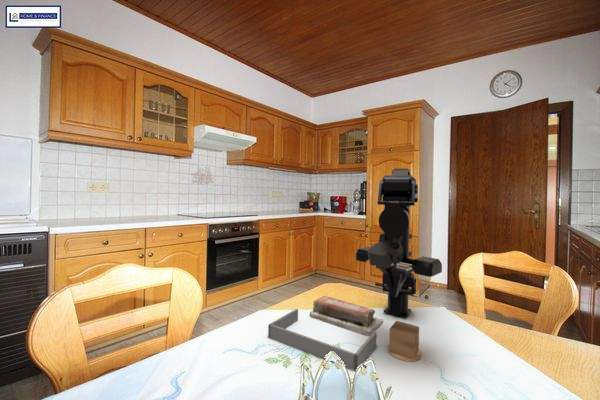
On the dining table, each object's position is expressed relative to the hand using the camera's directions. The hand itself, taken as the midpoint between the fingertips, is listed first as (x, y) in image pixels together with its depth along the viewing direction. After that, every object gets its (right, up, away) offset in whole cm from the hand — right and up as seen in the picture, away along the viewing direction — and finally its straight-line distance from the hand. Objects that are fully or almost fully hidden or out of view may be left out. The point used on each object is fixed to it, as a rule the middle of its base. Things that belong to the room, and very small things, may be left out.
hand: (394, 296), depth 65 cm
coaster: (+1, -11, -4) cm, 12 cm away
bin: (-17, -10, 0) cm, 20 cm away
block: (+1, -10, -4) cm, 11 cm away
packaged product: (-10, -11, +12) cm, 19 cm away
